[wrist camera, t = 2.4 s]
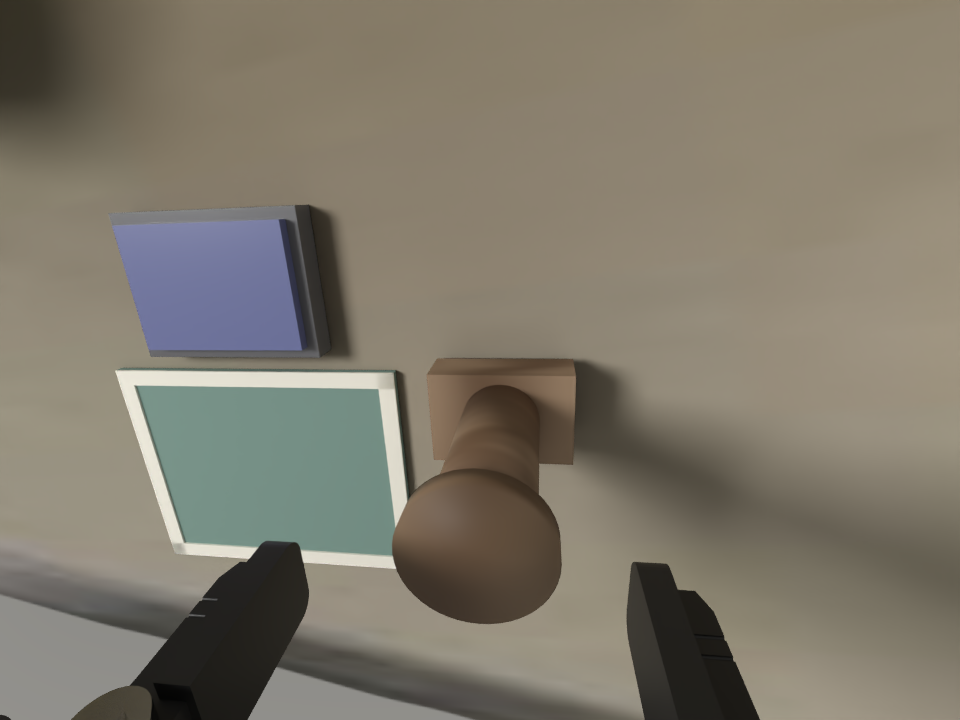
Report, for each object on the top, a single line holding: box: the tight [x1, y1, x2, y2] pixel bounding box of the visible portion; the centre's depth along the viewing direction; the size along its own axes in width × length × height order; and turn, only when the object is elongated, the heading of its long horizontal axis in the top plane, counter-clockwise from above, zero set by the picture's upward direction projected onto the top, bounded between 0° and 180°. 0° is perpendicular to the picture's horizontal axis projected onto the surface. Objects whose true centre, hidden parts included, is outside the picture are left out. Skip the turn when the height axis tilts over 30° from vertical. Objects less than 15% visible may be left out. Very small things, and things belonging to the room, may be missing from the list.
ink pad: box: [108, 205, 331, 358], centre depth 21 cm, size 8×6×2 cm
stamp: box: [392, 358, 576, 624], centre depth 17 cm, size 6×4×10 cm
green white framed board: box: [116, 368, 409, 569], centre depth 25 cm, size 15×12×1 cm
